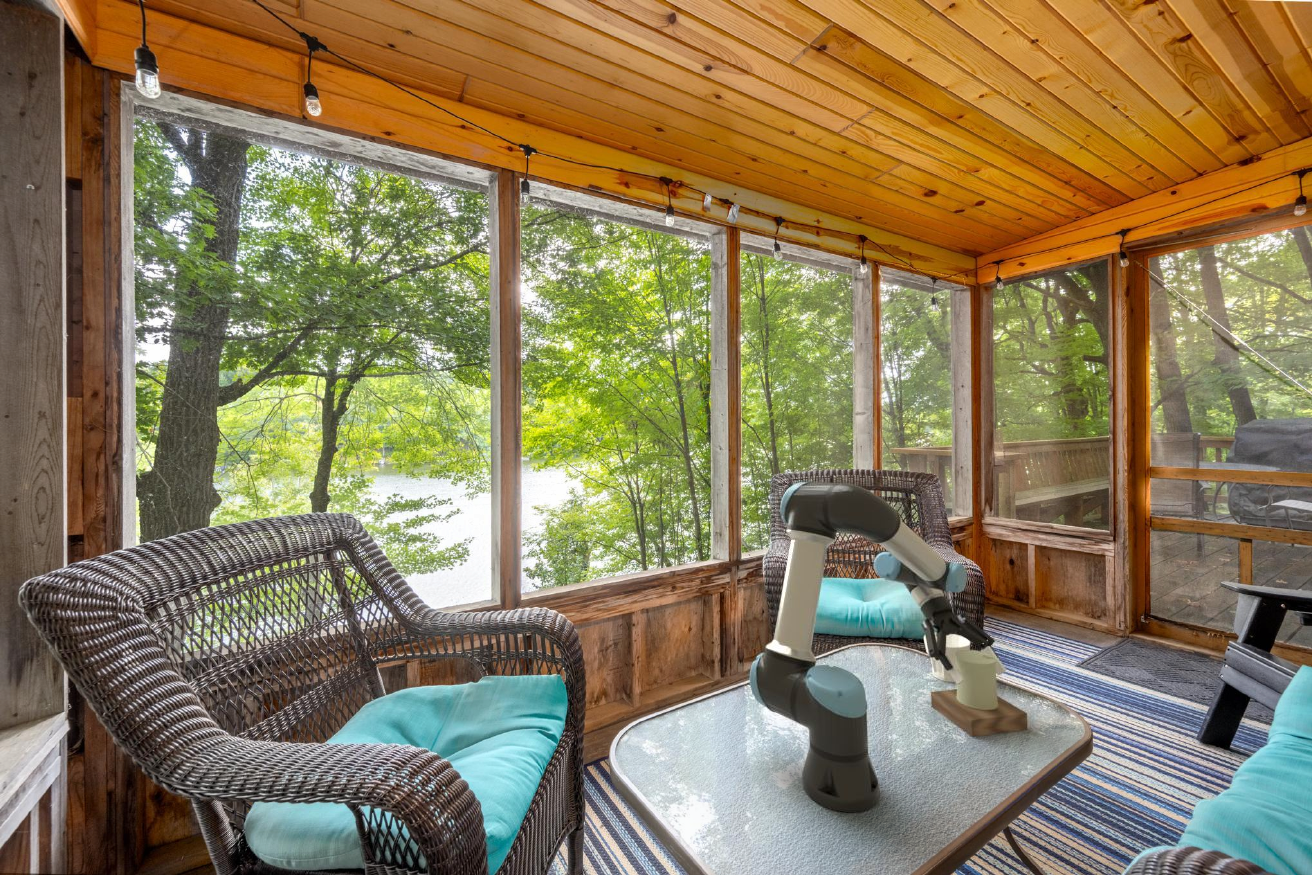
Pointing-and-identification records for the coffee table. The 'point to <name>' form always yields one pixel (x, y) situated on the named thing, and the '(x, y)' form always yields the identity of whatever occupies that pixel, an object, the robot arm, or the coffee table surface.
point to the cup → (952, 646)
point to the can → (977, 680)
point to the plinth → (979, 715)
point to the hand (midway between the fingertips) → (982, 677)
